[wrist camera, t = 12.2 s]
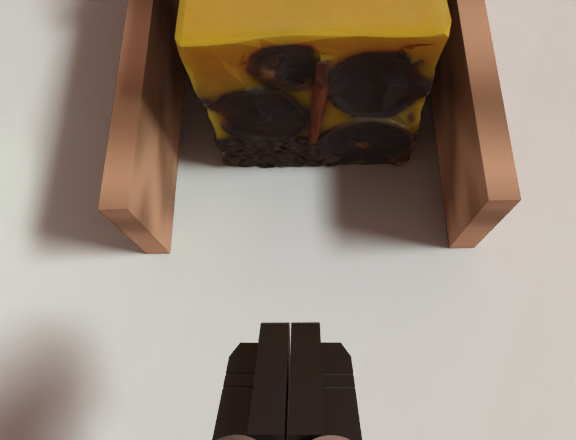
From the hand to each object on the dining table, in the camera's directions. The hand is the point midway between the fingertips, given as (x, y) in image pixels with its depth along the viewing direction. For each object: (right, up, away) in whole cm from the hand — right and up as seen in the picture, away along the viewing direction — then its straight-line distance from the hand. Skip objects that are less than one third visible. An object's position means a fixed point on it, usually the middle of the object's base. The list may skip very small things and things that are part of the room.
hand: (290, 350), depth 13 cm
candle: (+2, +11, +16) cm, 19 cm away
